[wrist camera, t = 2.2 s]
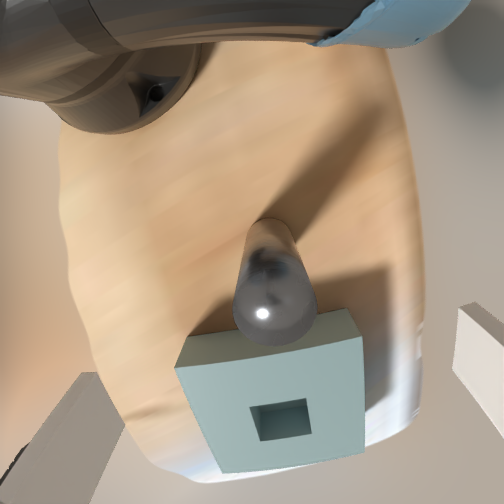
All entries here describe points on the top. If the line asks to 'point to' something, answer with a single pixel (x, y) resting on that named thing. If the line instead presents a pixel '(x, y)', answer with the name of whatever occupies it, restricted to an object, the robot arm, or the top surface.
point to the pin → (273, 287)
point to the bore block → (278, 395)
